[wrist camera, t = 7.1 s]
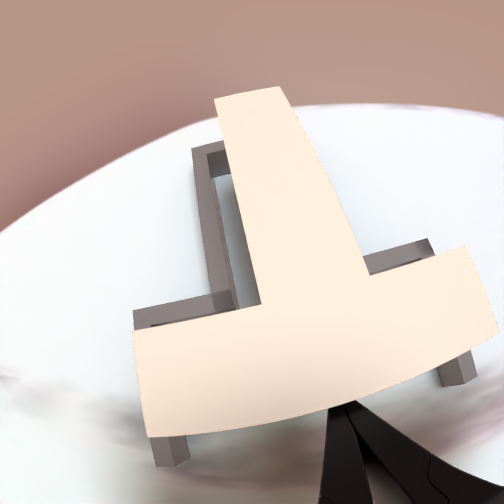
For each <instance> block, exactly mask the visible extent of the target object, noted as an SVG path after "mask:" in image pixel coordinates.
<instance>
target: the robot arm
mask: <svg viewBox="0 0 504 504" xmlns="http://www.w3.org/2000/svg"><path fill="white" fill-rule="evenodd" d="M373 501H374V503H375V504H504V486H499V485H496V484H493V483H491V482H488V481H486V480H483V479H481V478H478V477H476V476H473V475H471V474H469V473H466V472H464V471H462V470H460V469H458V468H456V467H454V466H452V465H450V464H448V463H447V462H445V461H443V460H442V459H440V458H438V457H437V456H435V455H434V454H431V452H429V451H428V450H426V449H425V448H423V447H422V446H420V445H419V444H417V443H416V442H414V441H413V440H411V439H410V438H408V437H407V436H405V435H404V434H402V433H401V432H400V431H398V430H397V429H395V428H394V427H392V426H391V425H390V424H388V423H387V422H385V421H384V420H382V419H381V418H380V417H378V416H377V415H375V414H374V413H373V412H371V411H370V410H369V409H367V408H366V407H364V406H363V405H362V404H360V403H359V402H358V401H356V400H353V401H350V402H347V403H344V404H341V405H338V406H334V407H331V408H328V415H327V428H326V440H325V451H324V460H323V469H322V478H321V486H320V493H319V499H318V504H374V503H373Z"/></svg>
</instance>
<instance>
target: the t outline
mask: <svg viewBox="0 0 504 504" xmlns="http://www.w3.org/2000/svg"><path fill="white" fill-rule="evenodd" d="M191 149H192V158H193V167H194V175H195V184H196V192H197V199H198V207H199V214H200V222H201V229H202V236H203V243H204V249H205V256H206V263H207V269H208V275H209V281H210V287H211V294H207V295H203V296H198V297H194V298H189V299H185V300H180V301H176V302H171V303H166V304H161V305H157V306H152V307H147V308H142V309H137V310H133V319H134V330H140V329H146V328H151V327H157V326H162V325H167V324H172V323H178V322H183V321H188V320H193V319H197V318H202V317H207V316H212V315H216V314H221V313H226V312H230V311H235V310H239V306H238V301H237V296H236V291H235V286H234V281H233V276H232V271H231V266H230V261H229V256H228V251H227V246H226V241H225V235H224V230H223V225H222V220H221V214H220V209H219V203H218V198H217V192H216V187H215V181H214V177H216V176H220V175H224V174H228V173H231V171H230V166H229V162H228V158H227V153H226V149H225V145H224V140H222V141H218V142H214V143H210V144H206V145H203V146H199V147H195V148H191ZM433 256H435V254H434V251H433V249H432V247H431V245H430V243H429V241H428V239H427V238H426V239H423V240H419V241H416V242H412V243H409V244H405V245H402V246H398V247H395V248H391V249H388V250H384V251H380V252H377V253H373V254H369V255H366V256H362V257H363V259H364V262H365V264H366V267H367V269H368V272H369V275H370V276H371V275H375V274H378V273H381V272H385V271H388V270H391V269H395V268H398V267H401V266H404V265H408V264H411V263H414V262H417V261H420V260H423V259H427V258H430V257H433ZM438 370H439V374H440V378H441V382H442V386H443V387H447V386H454V385H461V384H465V383H467V382H469V381H470V380H472V379H474V378H475V377H477V373H476V369H475V365H474V361H473V357H472V354H471V350H469V351H467V352H465V353H463V354H461V355H459V356H457V357H455V358H454V359H452V360H450V361H448V362H446V363H444V364H442V365H440V366H438ZM150 441H151V446H152V451H153V455H154V459H155V464H156V467H159V466H176V465H177V464H179V463H181V462H183V461H184V460H186V459H188V458H189V457H190V455H189V451H188V447H187V442H186V438H185V435H182V436H168V437H150Z"/></svg>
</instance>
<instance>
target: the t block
mask: <svg viewBox="0 0 504 504" xmlns="http://www.w3.org/2000/svg"><path fill="white" fill-rule="evenodd" d="M214 101H215V105H216V110H217V114H218V119H219V123H220V127H221V132H222V136H223V140H224V145H225V149H226V153H227V158H228V162H229V166H230V171H231V175H232V179H233V184H234V188H235V192H236V197H237V201H238V205H239V209H240V214H241V218H242V222H243V227H244V231H245V235H246V240H247V244H248V248H249V252H250V257H251V261H252V265H253V270H254V274H255V278H256V282H257V287H258V291H259V295H260V300H261V305H257V306H252V307H248V308H244V309H239V310H235V311H230V312H226V313H221V314H216V315H212V316H207V317H202V318H197V319H193V320H188V321H183V322H178V323H172V324H167V325H162V326H157V327H151V328H146V329H140V330H134V331H133V343H134V353H135V362H136V370H137V378H138V385H139V392H140V399H141V405H142V411H143V417H144V422H145V428H146V433H147V437H168V436H182V435H193V434H203V433H211V432H219V431H226V430H233V429H239V428H245V427H251V426H256V425H262V424H267V423H272V422H276V421H281V420H285V419H290V418H294V417H298V416H302V415H306V414H310V413H313V412H317V411H321V410H324V409H328V408H331V407H334V406H338V405H341V404H344V403H347V402H350V401H353V400H356V399H359V398H362V397H365V396H368V395H371V394H373V393H376V392H379V391H382V390H384V389H387V388H389V387H392V386H394V385H397V384H399V383H402V382H404V381H407V380H409V379H411V378H414V377H416V376H418V375H420V374H423V373H425V372H427V371H429V370H431V369H433V368H435V367H438V366H440V365H442V364H444V363H446V362H448V361H450V360H452V359H454V358H455V357H457V356H459V355H461V354H463V353H465V352H467V351H469V350H470V349H472V348H474V347H476V346H477V345H479V344H481V343H483V342H484V341H486V340H488V339H489V338H491V337H493V336H494V335H496V334H498V333H499V330H498V327H497V324H496V321H495V318H494V315H493V312H492V309H491V306H490V303H489V301H488V298H487V295H486V293H485V290H484V287H483V285H482V282H481V280H480V278H479V275H478V273H477V270H476V268H475V266H474V264H473V261H472V259H471V257H470V255H469V253H468V250H467V248H466V246H462V247H460V248H457V249H454V250H451V251H448V252H445V253H442V254H439V255H436V256H433V257H430V258H427V259H423V260H420V261H417V262H414V263H411V264H408V265H404V266H401V267H398V268H395V269H391V270H388V271H385V272H381V273H378V274H375V275H371V276H370V275H369V272H368V269H367V267H366V264H365V262H364V259H363V257H362V254H361V252H360V249H359V247H358V244H357V242H356V239H355V237H354V234H353V232H352V230H351V227H350V225H349V223H348V220H347V218H346V216H345V213H344V211H343V209H342V207H341V204H340V202H339V200H338V198H337V196H336V193H335V191H334V189H333V187H332V185H331V183H330V181H329V179H328V177H327V174H326V172H325V170H324V168H323V166H322V164H321V162H320V160H319V158H318V156H317V154H316V152H315V150H314V148H313V146H312V144H311V143H310V141H309V139H308V137H307V135H306V133H305V131H304V129H303V127H302V126H301V124H300V122H299V120H298V118H297V116H296V115H295V113H294V111H293V109H292V107H291V106H290V104H289V102H288V100H287V99H286V97H285V96H284V94H283V92H282V90H281V88H280V87H279V86H278V87H272V88H266V89H260V90H255V91H249V92H245V93H240V94H234V95H230V96H226V97H221V98H217V99H214Z"/></svg>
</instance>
